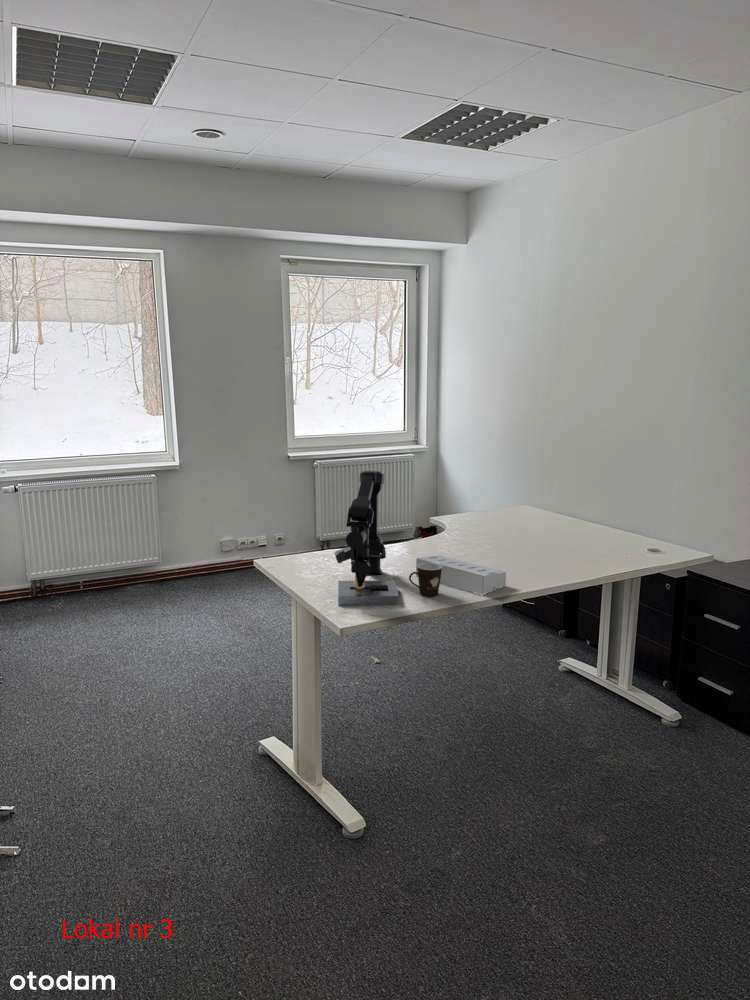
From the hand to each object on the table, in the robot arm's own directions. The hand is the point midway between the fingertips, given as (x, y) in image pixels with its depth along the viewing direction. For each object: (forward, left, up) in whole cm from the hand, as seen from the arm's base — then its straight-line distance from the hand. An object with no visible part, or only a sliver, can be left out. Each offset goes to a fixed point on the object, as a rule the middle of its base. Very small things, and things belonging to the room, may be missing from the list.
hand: (359, 584), depth 238 cm
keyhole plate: (0, +3, -4) cm, 5 cm away
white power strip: (-17, +37, -5) cm, 41 cm away
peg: (0, 0, -4) cm, 4 cm away
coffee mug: (-3, +23, -5) cm, 23 cm away
